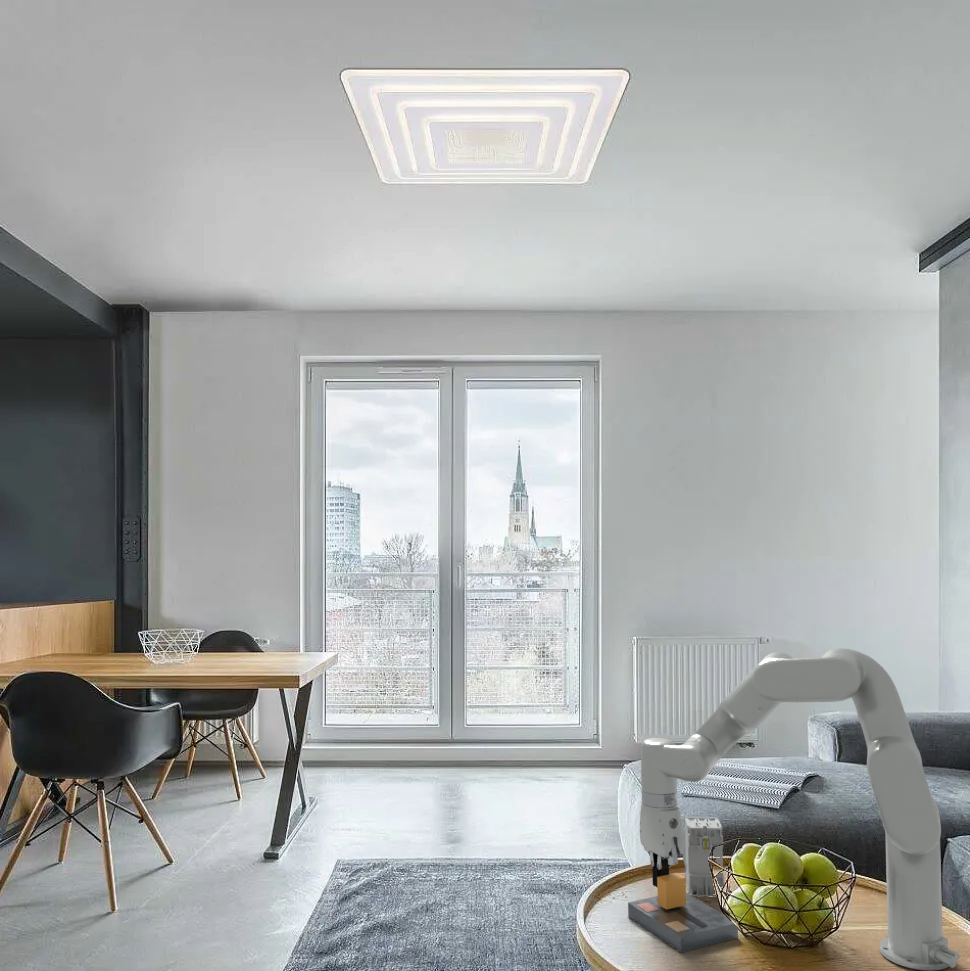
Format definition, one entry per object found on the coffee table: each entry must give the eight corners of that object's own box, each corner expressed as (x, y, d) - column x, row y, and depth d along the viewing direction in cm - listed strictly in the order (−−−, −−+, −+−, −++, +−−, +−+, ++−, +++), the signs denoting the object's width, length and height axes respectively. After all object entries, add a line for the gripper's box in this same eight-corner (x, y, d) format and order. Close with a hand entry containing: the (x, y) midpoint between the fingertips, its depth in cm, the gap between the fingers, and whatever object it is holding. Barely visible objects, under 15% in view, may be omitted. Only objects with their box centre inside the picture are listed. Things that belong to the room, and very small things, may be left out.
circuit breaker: (714, 872, 219) (713, 808, 220) (724, 897, 205) (722, 828, 206) (682, 871, 220) (681, 807, 220) (689, 896, 206) (688, 827, 206)
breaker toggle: (686, 905, 193) (685, 877, 193) (666, 909, 191) (665, 881, 191) (677, 899, 196) (676, 872, 196) (657, 904, 194) (657, 876, 194)
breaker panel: (738, 937, 185) (737, 922, 185) (681, 952, 179) (680, 936, 179) (682, 904, 201) (682, 889, 202) (628, 916, 195) (628, 902, 196)
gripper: (695, 805, 192) (697, 895, 192) (653, 786, 206) (655, 870, 205) (665, 810, 189) (667, 902, 188) (625, 791, 203) (626, 876, 202)
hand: (661, 885), depth 197 cm, fingers closed
